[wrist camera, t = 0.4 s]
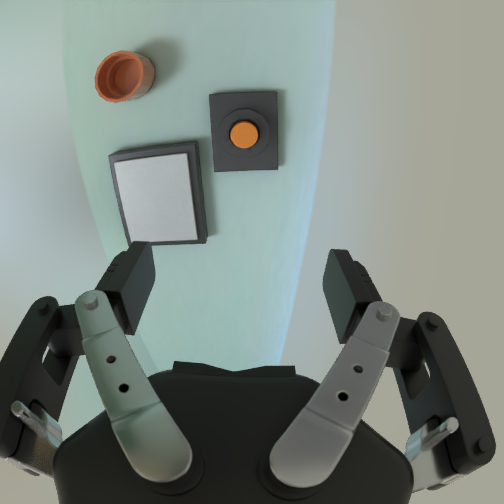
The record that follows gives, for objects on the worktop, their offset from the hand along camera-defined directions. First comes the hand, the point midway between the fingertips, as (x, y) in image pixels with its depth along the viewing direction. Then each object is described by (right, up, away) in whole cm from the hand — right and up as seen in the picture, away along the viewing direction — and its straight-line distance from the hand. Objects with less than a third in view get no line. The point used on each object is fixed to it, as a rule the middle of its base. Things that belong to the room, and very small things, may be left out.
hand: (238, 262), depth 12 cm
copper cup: (-15, +23, +16) cm, 31 cm away
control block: (0, +16, +20) cm, 26 cm away
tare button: (0, +14, +18) cm, 23 cm away
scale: (-12, +8, +25) cm, 29 cm away
